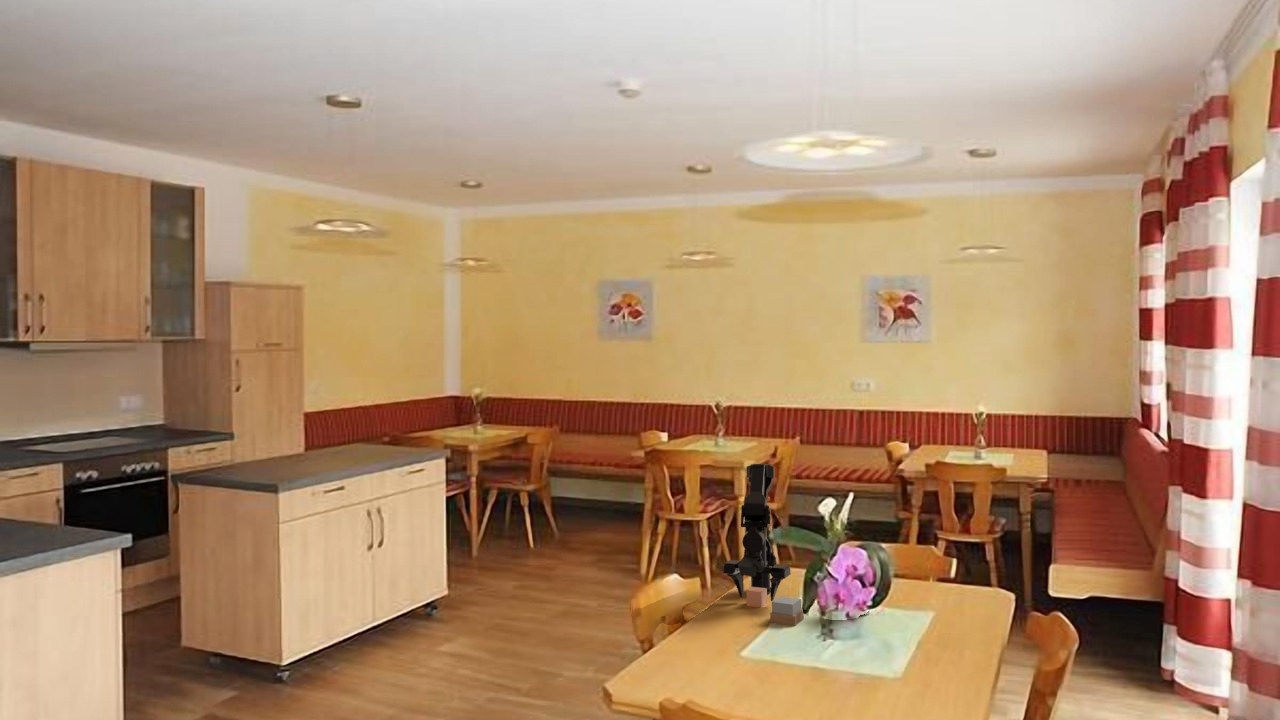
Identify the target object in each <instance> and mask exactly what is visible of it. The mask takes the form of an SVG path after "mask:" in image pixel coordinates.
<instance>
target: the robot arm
mask: <svg viewBox="0 0 1280 720" xmlns="http://www.w3.org/2000/svg"><path fill="white" fill-rule="evenodd" d="M775 469H776V468H775V466H773V465H771V464H769V463H751V464H750V465H747V466H746V479H747V480H748V482H749V493H748V495H746V496H745V497H744V499H743V500H744V501H743V504H742V505H741V512H740V528H745V532H744V535H743V537H742V541H741V542H742V547H743V548H744V553H743V557H742V558H741V560H734V559H729V560H728V561H725V562H724V563H723V565H722V574H726V576H727V577H730V578H731V579H732V580H733V582H734V584H735V586H736V588H737V592H738V593H739V596H740V598H743V597H744V593H745V592H744V590H745V589H744V588H745V587H744V577H745V576H748V577H750V588H751V587H759V588H767V595H769V594H770V601H771V602H772V601H774V600H775V597H776V593H777V591H778V588H779V586H780V584H781V582H782V581H783V580H784V579H786V578H788V577H790V576H791V567H790V566H789V565H788V564H780V563H777V557H776V556H775V553H774V552H773V549H772V546H771V544H770V543H771V542H769V540H768V535H767V534H768V533H767V532H768V527H769V525H771V518H772V517H771V512H772V509H771V508H770V506H769V504H768V493H769V492H770V490H771V489H772V487H773V482H774V481H773V480H775V478H776V477H775V476H776V475H775V473H776V471H775Z"/></svg>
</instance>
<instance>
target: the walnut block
mask: <svg viewBox="0 0 1280 720" xmlns="http://www.w3.org/2000/svg"><path fill="white" fill-rule="evenodd" d="M769 615H770V617H769V619H770V621H769V622H770V624H775V623H776V625H777V624H778V625H783V624H784V625H786V626H791V627H792V626H793V627H796V626H798V625H799V624H800V623H801V622H802V621H803V620H804V619H805V617H804V616H805V613H804V614H803V609H802V610H801V611H799V612H798V613H796V614H795V615H793V616H791V615H784V614H776V613H772V611H771V612H770V613H769Z"/></svg>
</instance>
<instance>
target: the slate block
mask: <svg viewBox="0 0 1280 720" xmlns="http://www.w3.org/2000/svg"><path fill="white" fill-rule="evenodd" d="M801 610H802V598H796V597H788V596H787V597H786V596H779V597H778V598H776V599H774V600H773V601H771V612H772V613H776V614H784V615H791V616H793V615H795V614H796V613H798V612H799V611H801Z"/></svg>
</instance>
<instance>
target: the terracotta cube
mask: <svg viewBox="0 0 1280 720" xmlns="http://www.w3.org/2000/svg"><path fill="white" fill-rule="evenodd" d="M767 604H768V594H767V588H759V587H751V586H750V588H748V589H747V590H746V606H747V607H753V608H754V607H755V608H763V607H765V606H766V605H767Z"/></svg>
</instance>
